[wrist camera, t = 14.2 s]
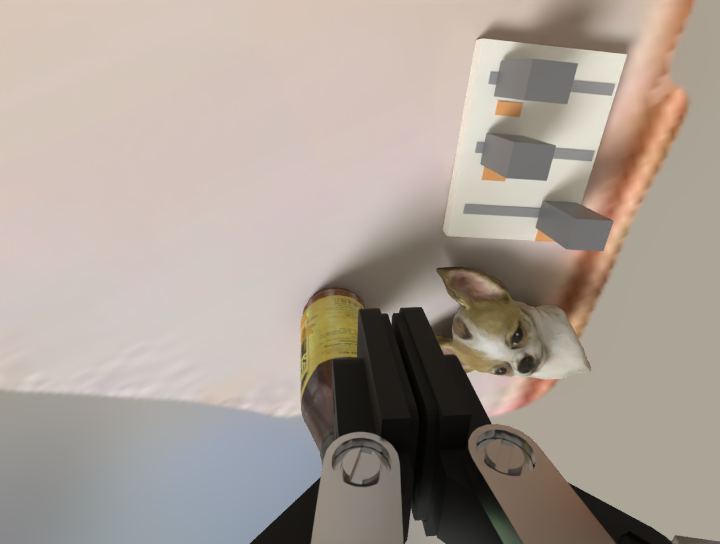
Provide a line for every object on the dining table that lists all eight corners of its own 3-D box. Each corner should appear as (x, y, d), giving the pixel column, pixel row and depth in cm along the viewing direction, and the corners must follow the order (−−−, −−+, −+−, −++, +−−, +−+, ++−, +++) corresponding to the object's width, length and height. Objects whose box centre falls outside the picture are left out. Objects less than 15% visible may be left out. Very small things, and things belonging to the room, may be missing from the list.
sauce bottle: (289, 300, 40) (272, 490, 22) (352, 274, 39) (386, 446, 21) (319, 353, 42) (326, 559, 24) (378, 329, 42) (428, 522, 24)
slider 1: (500, 60, 31) (533, 58, 26) (539, 64, 31) (578, 63, 27) (493, 96, 32) (523, 100, 27) (531, 99, 32) (567, 104, 28)
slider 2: (486, 132, 33) (514, 142, 28) (523, 135, 33) (556, 145, 29) (480, 164, 34) (506, 178, 29) (515, 166, 34) (546, 180, 30)
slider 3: (542, 200, 36) (576, 218, 31) (575, 202, 36) (613, 220, 32) (535, 227, 37) (566, 249, 32) (567, 229, 37) (603, 250, 33)
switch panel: (475, 39, 32) (483, 38, 30) (614, 55, 33) (628, 54, 32) (442, 230, 38) (447, 236, 37) (560, 236, 40) (570, 242, 38)
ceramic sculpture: (574, 430, 38) (413, 401, 36) (533, 371, 46) (400, 344, 44) (633, 329, 34) (456, 290, 32) (577, 283, 42) (433, 249, 40)
